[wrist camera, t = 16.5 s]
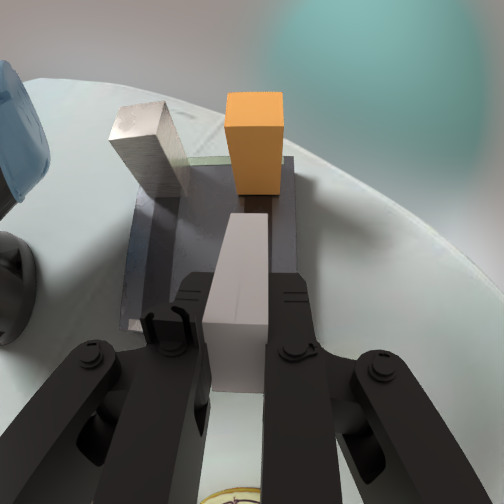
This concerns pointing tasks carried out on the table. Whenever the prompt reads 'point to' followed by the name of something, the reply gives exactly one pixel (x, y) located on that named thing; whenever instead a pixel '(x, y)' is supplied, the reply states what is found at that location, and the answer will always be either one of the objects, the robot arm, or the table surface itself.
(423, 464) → the robot arm
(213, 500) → the decorated donut
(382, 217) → the table surface
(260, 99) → the handle
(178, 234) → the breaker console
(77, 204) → the table surface
